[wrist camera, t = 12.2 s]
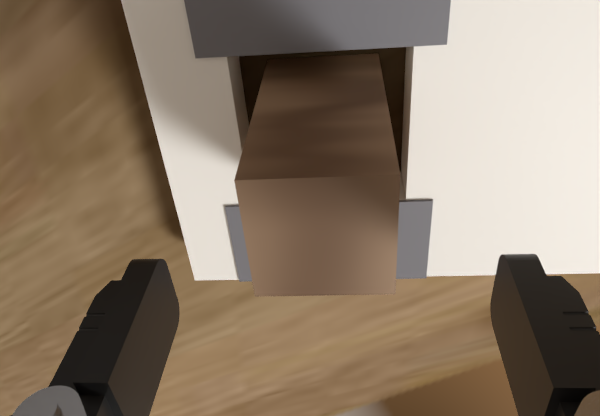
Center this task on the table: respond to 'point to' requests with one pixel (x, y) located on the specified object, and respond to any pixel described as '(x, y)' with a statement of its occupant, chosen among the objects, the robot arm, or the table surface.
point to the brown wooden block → (320, 180)
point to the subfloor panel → (416, 121)
